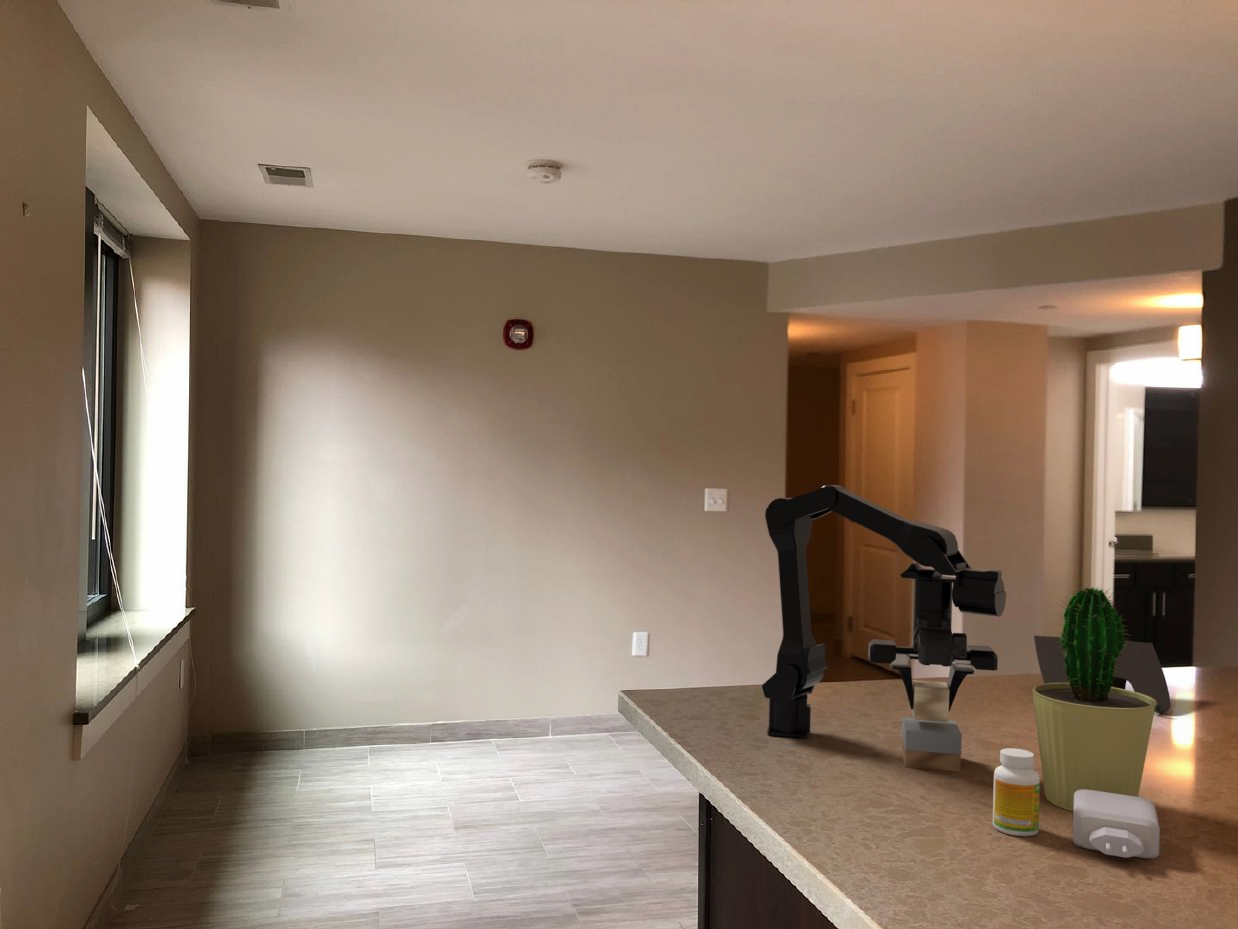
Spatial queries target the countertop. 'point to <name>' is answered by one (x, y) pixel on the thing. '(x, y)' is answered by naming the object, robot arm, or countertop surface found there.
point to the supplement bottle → (1016, 794)
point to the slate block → (931, 736)
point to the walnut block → (931, 760)
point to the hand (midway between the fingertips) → (929, 710)
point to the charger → (1115, 824)
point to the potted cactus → (1091, 709)
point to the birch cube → (930, 701)
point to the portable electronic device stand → (1136, 669)
